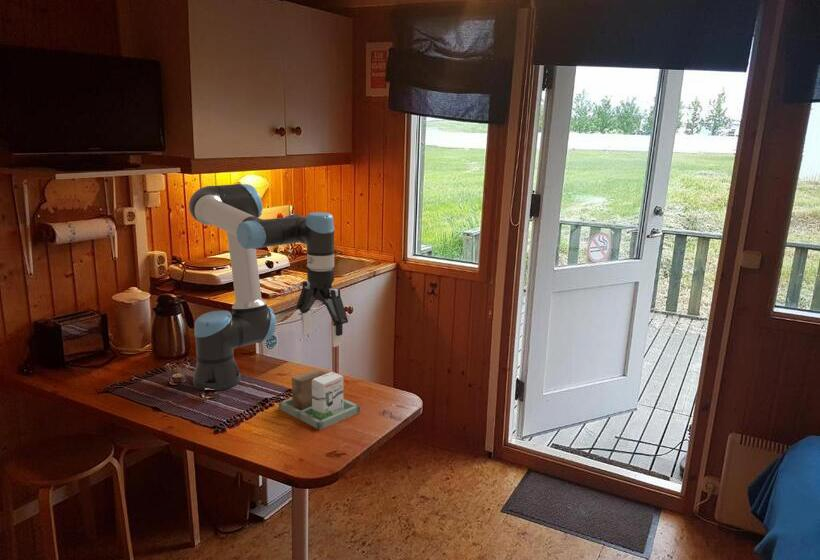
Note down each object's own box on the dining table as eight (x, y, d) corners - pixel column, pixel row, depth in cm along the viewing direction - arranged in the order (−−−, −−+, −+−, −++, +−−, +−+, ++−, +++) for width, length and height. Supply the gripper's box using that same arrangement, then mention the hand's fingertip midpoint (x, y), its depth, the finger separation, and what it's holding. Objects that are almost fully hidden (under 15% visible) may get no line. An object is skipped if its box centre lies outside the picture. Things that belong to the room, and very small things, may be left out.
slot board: (279, 411, 181) (278, 402, 180) (318, 395, 192) (318, 387, 191) (320, 432, 168) (319, 423, 167) (360, 414, 179) (359, 405, 178)
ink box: (323, 422, 172) (322, 384, 169) (311, 417, 175) (310, 379, 172) (344, 412, 179) (343, 375, 176) (332, 407, 182) (331, 370, 179)
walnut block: (292, 408, 181) (291, 377, 179) (316, 398, 187) (315, 368, 185) (303, 413, 178) (302, 381, 175) (326, 403, 184) (325, 373, 182)
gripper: (283, 262, 174) (285, 331, 180) (339, 278, 158) (340, 354, 163) (304, 258, 180) (305, 326, 185) (360, 274, 163) (360, 347, 169)
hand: (321, 339), depth 174 cm, fingers open, 13 cm apart
